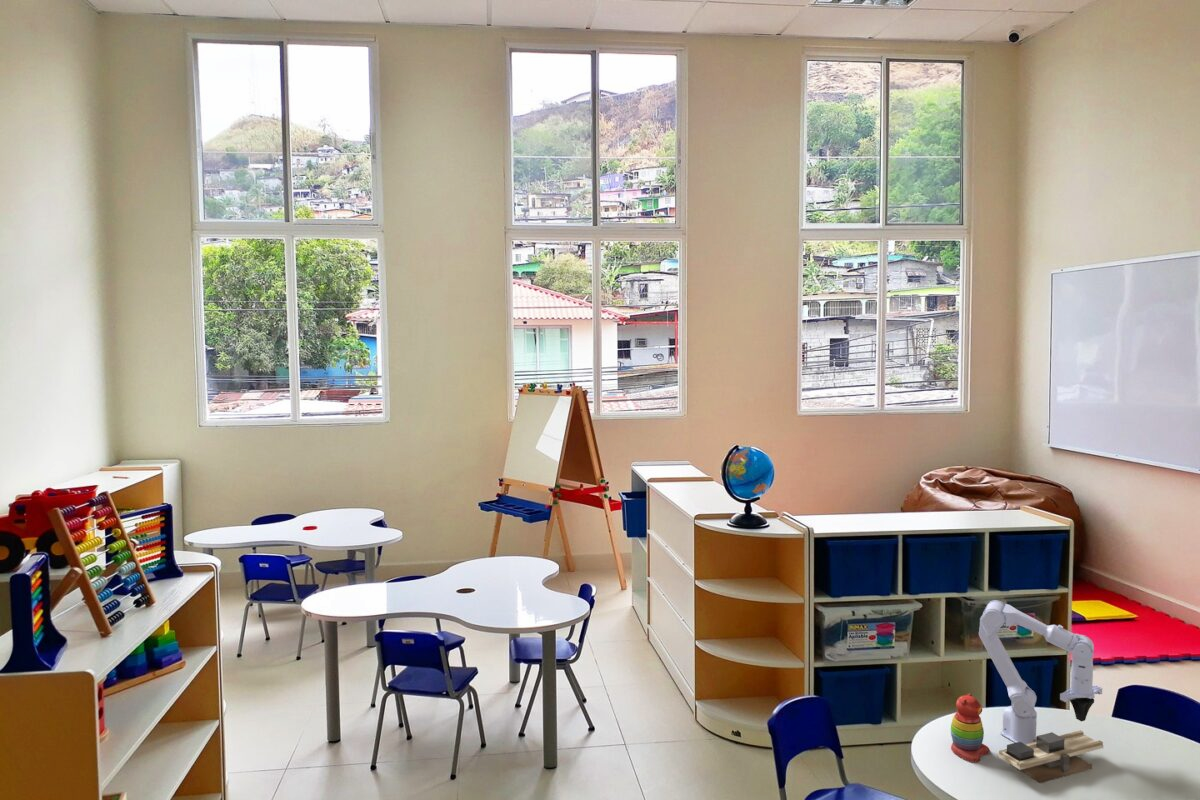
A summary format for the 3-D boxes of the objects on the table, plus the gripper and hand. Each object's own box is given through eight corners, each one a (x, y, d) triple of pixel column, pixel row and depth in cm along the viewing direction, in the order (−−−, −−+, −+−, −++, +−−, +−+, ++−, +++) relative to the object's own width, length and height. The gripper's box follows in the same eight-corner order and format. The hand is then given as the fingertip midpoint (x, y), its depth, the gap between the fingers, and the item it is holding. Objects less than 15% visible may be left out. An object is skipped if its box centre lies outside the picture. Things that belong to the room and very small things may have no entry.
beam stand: (1009, 764, 255) (1010, 745, 254) (1060, 750, 262) (1061, 732, 261) (1040, 783, 245) (1040, 763, 244) (1092, 768, 251) (1092, 749, 251)
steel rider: (1036, 747, 254) (1036, 736, 254) (1051, 743, 256) (1052, 732, 256) (1048, 754, 250) (1048, 743, 249) (1064, 750, 252) (1064, 739, 251)
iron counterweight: (1006, 754, 250) (1006, 744, 250) (1019, 751, 252) (1020, 741, 252) (1020, 762, 246) (1020, 753, 245) (1033, 759, 247) (1033, 749, 247)
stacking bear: (976, 764, 256) (977, 708, 254) (943, 752, 263) (944, 697, 261) (992, 751, 263) (993, 696, 261) (960, 739, 270) (961, 686, 268)
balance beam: (998, 756, 251) (998, 750, 251) (1079, 735, 262) (1080, 730, 262) (1020, 769, 244) (1020, 763, 244) (1103, 747, 254) (1103, 742, 254)
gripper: (1074, 686, 252) (1073, 730, 254) (1111, 678, 257) (1110, 721, 258) (1054, 676, 259) (1053, 719, 260) (1091, 669, 263) (1090, 711, 265)
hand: (1080, 719), depth 260 cm, fingers closed
